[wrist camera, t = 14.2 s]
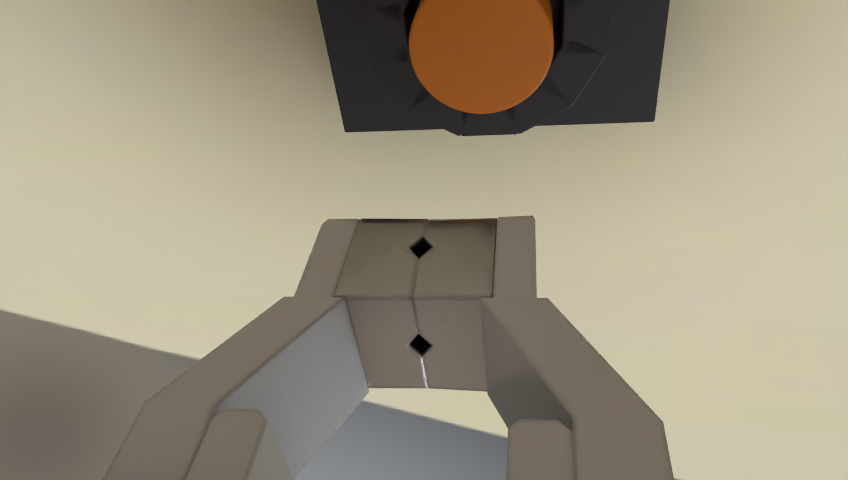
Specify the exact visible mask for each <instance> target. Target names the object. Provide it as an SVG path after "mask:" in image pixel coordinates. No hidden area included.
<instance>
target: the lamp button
mask: <svg viewBox="0 0 848 480" xmlns="http://www.w3.org/2000/svg"><path fill="white" fill-rule="evenodd" d="M553 51H554V36H553V20H552V9H551V4H550V0H421V1H420V3H419V6H418V9H417V11H416V14H415V17H414V20H413V22H412V25H411V30H410V34H409V54H410V59H411V63H412V66H413V69H414V71H415V73H416V75H417V77H418V79H419V80H420V82H421V83H422V85H423V86H424V87H425V88H426V90H427V91H428V92H429V93H430V94H431V95H432V96H434V97H435V98H436V99H437V100H439V101H440V102H442V103H443V104H445V105H447V106H449V107H451V108H454V109H456V110H459V111H463V112H467V113H474V114H487V113H495V112H499V111H503V110H506V109H509V108H511V107H513V106H515V105H517V104H519V103H520V102H522V101H524V100H525V99H526V98H528V97H529V96H530V95H531V94H532V93H533V92H534V91H535V90H536V89H537V88H538V87H539V85H540V84H541V83H542V81H543V80H544V78H545V76H546V74H547V72H548V70H549V68H550V65H551V62H552V57H553Z"/></svg>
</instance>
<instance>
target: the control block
mask: <svg viewBox="0 0 848 480" xmlns="http://www.w3.org/2000/svg"><path fill="white" fill-rule="evenodd" d="M420 1H421V0H317V5H318V10H319V14H320V19H321V23H322V28H323V33H324V37H325V42H326V47H327V51H328V56H329V60H330V65H331V70H332V74H333V79H334V83H335V88H336V93H337V97H338V102H339V106H340V111H341V116H342V120H343V125H344V130H345V132H370V131H399V130H427V129H445V130H447V131H449V132H451V133H454V134H456V135H458V136H460V135H462V136H476V135H507V134H518V133H519V134H520V133H523V132H524V131H526V130H528V129H530V128H532V127H534V126H543V125H572V124H601V123H629V122H653V121H654V120H655V113H656V105H657V97H658V89H659V81H660V73H661V65H662V57H663V49H664V42H665V34H666V26H667V18H668V10H669V2H670V0H550V4H551V9H552V20H553V36H554V51H553V57H552V62H551V65H550V68H549V70H548V72H547V74H546V76H545V78H544V80H543V81H542V83H541V84H540V85H539V87H538V88H537V89H536V90H535V91H534V92H533V93H532V94H531V95H530V96H529V97H528V98H526V99H525V100H524V101H522V102H520V103H519V104H517V105H515V106H513V107H511V108H509V109H506V110H503V111H499V112H495V113H487V114H474V113H467V112H463V111H459V110H456V109H454V108H451V107H449V106H447V105H445V104H443V103H442V102H440V101H439V100H437V99H436V98H435V97H434V96H432V95H431V94H430V93H429V92H428V91H427V90H426V88H425V87H424V86H423V85H422V83H421V82H420V80H419V79H418V77H417V75H416V73H415V71H414V69H413V66H412V63H411V59H410V54H409V34H410V30H411V25H412V22H413V20H414V17H415V14H416V11H417V9H418V6H419V3H420Z"/></svg>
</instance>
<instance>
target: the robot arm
mask: <svg viewBox="0 0 848 480" xmlns="http://www.w3.org/2000/svg"><path fill="white" fill-rule="evenodd" d="M368 388H434V389H452V390H470V391H488V396H489V397H490V399H491V401H492V402H493V404H494V406H495V407H496V409H497V411H498V412H499V414H500V416H501V417H502V419H503V421H504V422H505V424H506V426H507V427H508V448H507V472H506V480H674V477H673V472H672V467H671V461H670V456H669V451H668V446H667V440H666V435H665V430H664V424H663V421H662V420H661V419H660V418H659V417H658V416H657V415H656V414H655V413H654V412H653V411H652V410H651V408H650V407H649V406H648V405H647V404H646V403H645V402H644V401H643V400H642V399H641V398H640V397H639V396H638V395H637V393H636V392H635V391H634V390H633V389H632V388H631V387H630V386H629V385H628V384H627V383H626V382H625V381H624V380H623V378H622V377H621V376H620V375H619V374H618V373H617V372H616V371H615V370H614V369H613V368H612V367H611V366H610V365H609V363H608V362H607V361H606V360H605V359H604V358H603V357H602V356H601V355H600V354H599V353H598V352H597V351H596V349H595V348H594V347H593V346H592V345H591V344H590V343H589V342H588V341H587V340H586V339H585V338H584V337H583V336H582V334H581V333H580V332H579V331H578V330H577V329H576V328H575V327H574V326H573V325H572V324H571V323H570V322H569V321H568V319H567V318H566V317H565V316H564V315H563V314H562V313H561V312H560V311H559V310H558V309H557V308H556V307H555V306H554V304H553V303H552V302H551V301H550V300H549V299H548V298H537V291H536V240H535V219H534V217H533V216H514V217H498V219H497V218H486V219H434V220H428V219H361V220H359V219H328V220H326V221H325V222H324V223H323V224H322V225H321V228H320V230H319V233H318V236H317V238H316V241H315V243H314V246H313V249H312V251H311V254H310V256H309V259H308V262H307V264H306V267H305V269H304V272H303V275H302V277H301V280H300V282H299V285H298V288H297V290H296V293H295V295H294V297H283V298H282V299H280V300H279V301H278V302H276V303H275V304H274V305H272V306H271V307H270V308H269V309H267V310H266V311H265V312H263V313H262V314H261V315H259V316H258V317H257V318H255V319H254V320H253V321H251V322H250V323H249V324H247V325H246V326H245V327H243V328H242V329H241V330H239V331H238V332H237V333H235V334H234V335H233V336H231V337H230V338H229V339H227V340H226V341H225V342H223V343H222V344H221V345H220V346H218V347H217V348H216V349H214V350H213V351H212V352H210V353H209V354H208V355H206V356H205V357H204V358H202V359H201V360H200V361H198V362H197V363H196V364H194V365H193V366H192V367H190V368H189V369H188V370H187V371H185V372H184V373H182V374H181V375H180V376H179V377H177V378H176V379H174V380H173V381H172V382H171V383H169V384H168V385H167V386H166V387H164V388H163V389H161V390H160V391H159V392H157V393H156V394H155V395H153V396H152V397H151V398H149V399H148V400H147V401H145V402H144V404H143V406H142V407H141V409H140V411H139V413H138V415H137V417H136V418H135V420H134V422H133V424H132V426H131V428H130V430H129V431H128V433H127V435H126V437H125V439H124V441H123V443H122V444H121V446H120V448H119V450H118V452H117V454H116V456H115V457H114V459H113V461H112V463H111V465H110V467H109V468H108V470H107V472H106V474H105V476H104V478H103V480H294V479H295V478H296V476H297V475H298V474H299V473H300V472H301V471H302V469H303V468H304V467H305V466H306V465H307V464H308V463H309V461H310V460H311V459H312V458H313V457H314V455H315V454H316V453H317V452H318V451H319V450H320V448H321V447H322V446H323V445H324V444H325V443H326V441H327V440H328V439H329V438H330V437H331V436H332V434H333V433H334V432H335V431H336V430H337V429H338V427H339V426H340V425H341V424H342V423H343V422H344V420H345V419H346V418H347V417H348V416H349V414H350V413H351V412H352V411H353V410H354V409H355V407H356V406H357V405H358V404H359V403H360V402H361V401H362V399H363V398H364V397H365V396H366V395H367V393H368V392H369V389H368Z"/></svg>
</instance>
